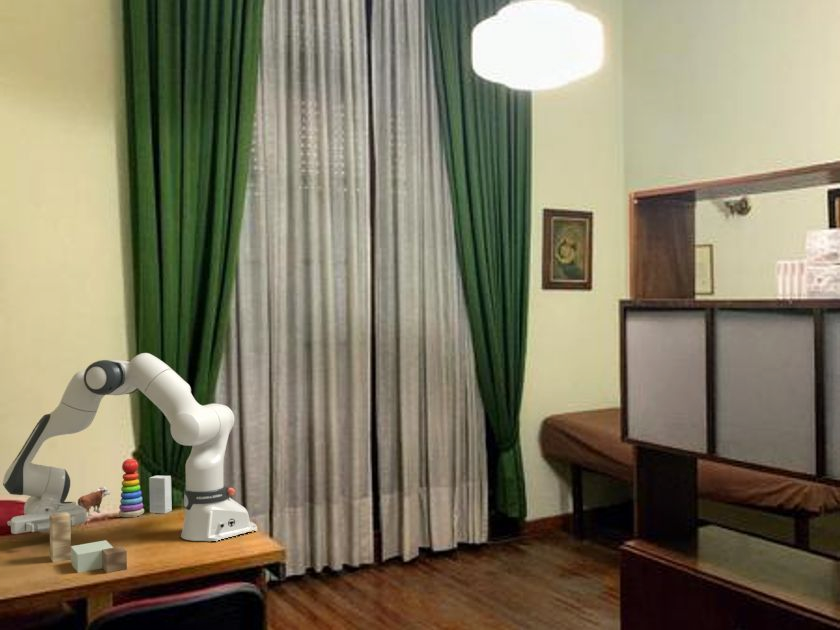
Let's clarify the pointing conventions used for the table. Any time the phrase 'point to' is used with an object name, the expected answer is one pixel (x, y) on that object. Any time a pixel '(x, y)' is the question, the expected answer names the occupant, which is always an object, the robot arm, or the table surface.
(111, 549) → the walnut block
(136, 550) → the table surface
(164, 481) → the skincare box
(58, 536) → the oak post
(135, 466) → the stacking toy
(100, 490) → the bull figurine
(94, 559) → the plinth
